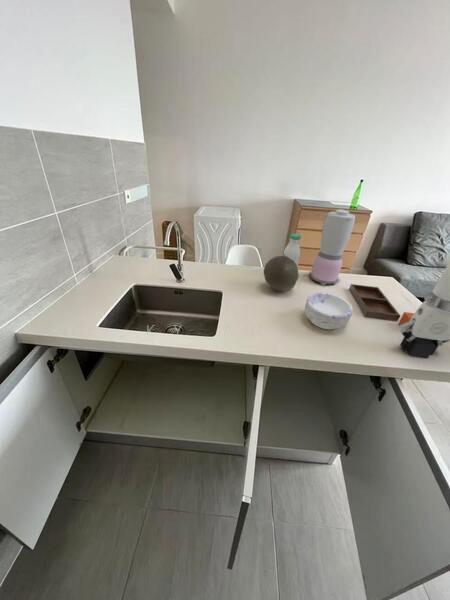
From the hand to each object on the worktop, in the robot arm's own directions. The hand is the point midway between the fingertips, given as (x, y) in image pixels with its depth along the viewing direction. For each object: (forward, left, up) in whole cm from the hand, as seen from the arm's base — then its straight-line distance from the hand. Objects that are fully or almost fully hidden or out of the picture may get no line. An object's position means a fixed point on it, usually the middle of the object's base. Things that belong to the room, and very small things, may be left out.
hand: (415, 350), depth 76 cm
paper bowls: (+26, -10, -1) cm, 28 cm away
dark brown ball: (+42, -30, -1) cm, 52 cm away
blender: (+21, -47, -1) cm, 51 cm away
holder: (+4, -28, -1) cm, 28 cm away
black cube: (0, 0, -1) cm, 1 cm away
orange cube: (-4, -13, -1) cm, 14 cm away
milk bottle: (+37, -47, -1) cm, 60 cm away
